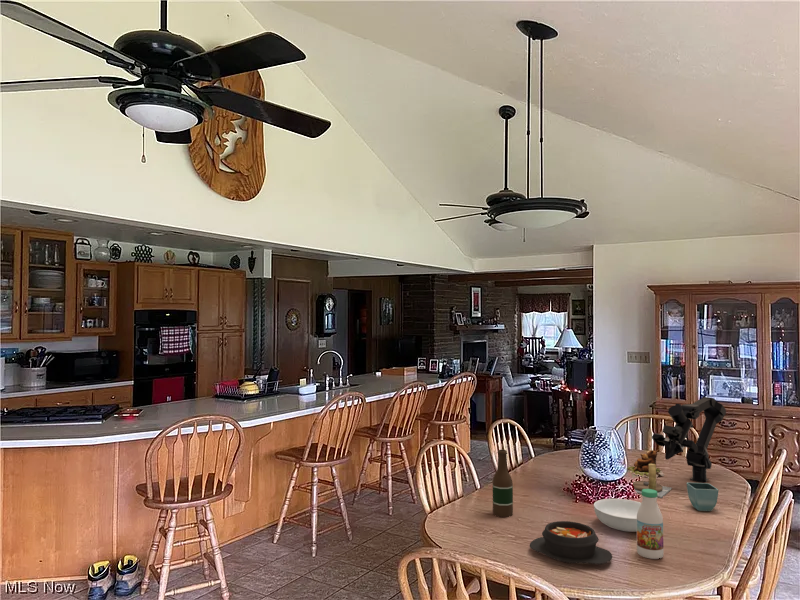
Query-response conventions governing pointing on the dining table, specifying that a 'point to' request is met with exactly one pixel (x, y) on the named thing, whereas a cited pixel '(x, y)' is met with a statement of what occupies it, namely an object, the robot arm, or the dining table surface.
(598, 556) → the casserole
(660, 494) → the stand
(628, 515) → the serving bowl
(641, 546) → the milk bottle
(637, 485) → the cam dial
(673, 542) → the dining table surface
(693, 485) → the flower pot
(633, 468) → the bear figurine
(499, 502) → the beer bottle
